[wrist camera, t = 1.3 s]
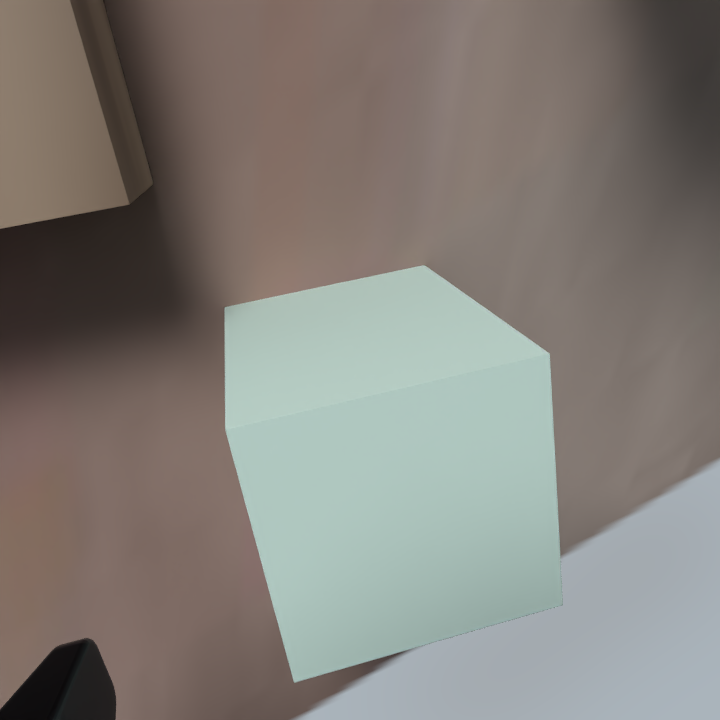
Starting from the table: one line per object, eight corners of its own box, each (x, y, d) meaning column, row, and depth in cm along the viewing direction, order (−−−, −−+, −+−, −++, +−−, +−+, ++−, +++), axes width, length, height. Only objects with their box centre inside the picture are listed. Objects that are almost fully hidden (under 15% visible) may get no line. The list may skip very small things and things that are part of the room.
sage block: (424, 265, 14) (549, 353, 9) (445, 438, 16) (562, 604, 10) (224, 306, 14) (225, 429, 8) (268, 482, 15) (294, 682, 10)
